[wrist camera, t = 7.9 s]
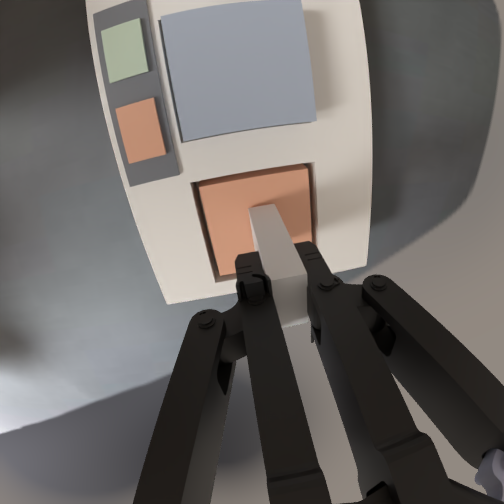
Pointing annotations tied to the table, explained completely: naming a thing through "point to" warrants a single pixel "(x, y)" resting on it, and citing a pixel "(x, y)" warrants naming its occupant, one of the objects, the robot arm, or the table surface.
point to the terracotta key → (252, 195)
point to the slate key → (239, 66)
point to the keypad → (232, 140)
